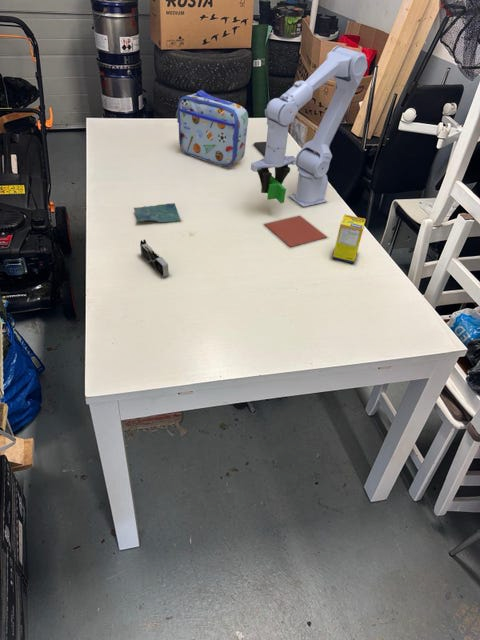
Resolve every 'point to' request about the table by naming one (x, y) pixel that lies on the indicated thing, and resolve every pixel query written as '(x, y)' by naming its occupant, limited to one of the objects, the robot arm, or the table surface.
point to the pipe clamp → (275, 190)
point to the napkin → (295, 231)
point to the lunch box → (212, 128)
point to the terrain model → (158, 213)
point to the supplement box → (348, 238)
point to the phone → (261, 147)
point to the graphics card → (154, 259)
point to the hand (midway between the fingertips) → (270, 190)
